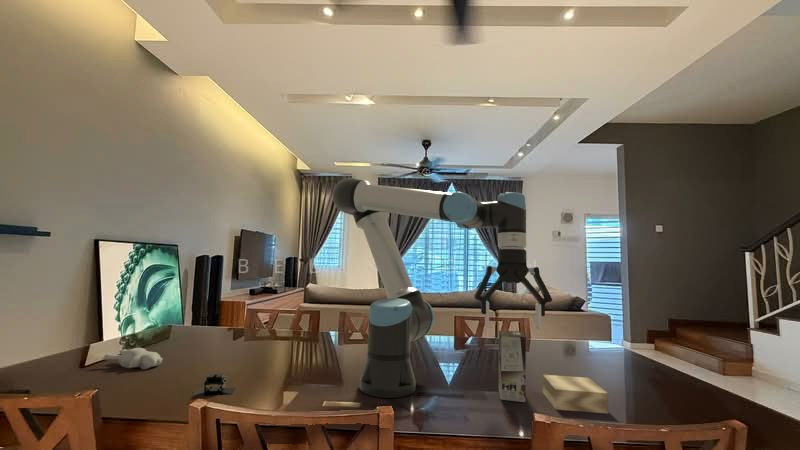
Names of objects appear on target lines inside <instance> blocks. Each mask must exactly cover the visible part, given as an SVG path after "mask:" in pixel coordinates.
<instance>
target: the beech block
mask: <svg viewBox="0 0 800 450" xmlns="http://www.w3.org/2000/svg"><path fill="white" fill-rule="evenodd" d="M542 393H543V395H544V396H545V397H546V398H547V400H548V402H549V403H550V404H551V406H553V409H555V410H561V411H572V412H582V413H584V412H585V413H598V414H609V393H608V392H607V391H606V390H604V388H602V387H601V386H600V385H598V384H597V383H596V382H595V381H593V380H592V379H591V378H589V377H583V376H582V377H581V376H568V375H567V376H566V375H555V374H553V375H552V374H551V375H550V374H542Z"/></svg>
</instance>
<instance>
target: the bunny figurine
mask: <svg viewBox="0 0 800 450" xmlns="http://www.w3.org/2000/svg"><path fill="white" fill-rule="evenodd" d="M163 358H164V357H161V355H160V354H159V352H156V351H150V350H149V351H148V350H147V349H146V348H143V347H133V348H131V349H120V350H119V354H113V353H105V354H104V356H103V358H102V360H118V362H119V364H120V366H121V368H126V369H133V368H139V369H141V370H147V369H150V368H153V367H156V366H158V365H160V364H163Z"/></svg>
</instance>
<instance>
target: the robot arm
mask: <svg viewBox="0 0 800 450" xmlns="http://www.w3.org/2000/svg"><path fill="white" fill-rule="evenodd" d="M332 200H333V203H334V206H335V207H336V208H337V209H338V210H339V211H340V212H343V213H345V214H347V215H350V216H353V219H354V222H355V225H356V227H357V228H358V229H360V230H363V233H364V236H365V238H366V241H367V244H368V247H369V251H370V253H371V255H372V258H373V260H374V262H375V266H376V268H377V271H378V274H379V277H380V280H381V282H382V285H383V287H384V290H385V293H386V297H387V298H386V299H384V298H382V299H378V300H376V301H373V302H372V303H371V304H370V306H369V313H368V316H367V319H368V320H367V321H368V326H367V327H368V331H367V332H368V333H367V355H366V357H367V358H366V361H365V364H364V366H363V370H362V373H361V376H360V378H359V390H360V391H361V392H362V393H363V394H365V395H367V396H371V397H375V398H382V399H383V398H384V399H397V398H403V397H407V396H410V395H412V394H413V393H415V392H416V383H417V381H416V377H415V374H414V370H413V366H412V362H411V342H414V341H416V340H419V339H423V338H424V337H425V336H426V335H428V334H429V333H430V332H431V331H432V329H433V327H434V324H435V319H436V318H435V316H436V315H435V312H434V309H433V307H432V306H431V304H430V303H428V302H427V301H426V300H424V298H423V296H422V293H421V291H420V289H418V288H416V287H414V286H413V283H412V281H411V279H410V278H411V277H410V276H409V273H408V270H407V268H406V265H405V264H404V263H405V262H404V261H403V258H402V255H401V253H400V250H399V248H398V246H397V242H396V240H395V237H394V235H393V231H392V230H391V227H390V225H389V221H388V219H389V218H390V214H397V215H403V216H409V217H410V216H411V217H416V218H424V219H432V220H438V221H445V222H450V223H455V224H456V226H457V227H458V229H467V230H472V229H495V228H496V229H497V247H498V248H499V249H498V250H497V265H496V266H492V265H487V266H486V269H485V274H484V276H483V278H482V280H481V282H480V283H479V286H478V288H477V290H476V292H475V294H474V296H473V297H474V300H477V301H479V302H480V313H481V314H482V315H484V327H486V328H490V302H489V301H488V300H489V299H490V297H491V296H492V295H493V294H494V293H495V292H496V291H497V289H498V288H499V287H500V286H501V285H502V284H503V283H507V284H512V283H514V284H520V283H521V284H522V285H523V286H524V287H525V288H526V290H528V291H529V293H530V294H531V296H533V297H534V299H535V300H536V302H537V303H535V329H537V330H541V331H542V327H543V326H542V317H545V316H546V304H548V303H551V302H553V297H552V296H551V294H550V292H549V290H548V289H547V287H546V284H545V282H544V281H543V278H542V277H541V274H540V269H539V267H538V266H533V267H528V265H527V250H526V249H525V248H527V208H526V205H527V204H526V197H525V195H524V194H523V193H520V192H517V191H515V192H513V191H511V192H509V191H507V192H502V193H500V194H498V195H497V199H496V200H494V201H486V202H485V201H483V202H482V201H478V200H477V199H475V198H474V197H473V196H472V195H470V194H468V193H466V192H462V191H455V192H446V191H445V192H443V191H435V190H434V191H433V190H425V189H416V188H407V187H396V186H389V185H381V184H380V185H379V184H371V182H369V180H365V179H359V178H355V177H347V178H346V177H345V178H342V179H341V180H339V181H338V182H337V183H336V184H335V186H334V188H333V191H332ZM495 272H496V273H497V275H498V278H496V280H495V281H494V282H493V284H492V285H490V287H489V288H488V289H487V290H486V292H485V293H484V294H483V292H484V290H485V288H486V287H487V284H488V282H489V280H490V279H491V276H492V275H494V274H495ZM528 273H530V274H529V275H530V276H532V277H533V279H534V282H535V283H536V285H537V287H538V290H540V293H541V294H542V295H541V294H540V293H539V292H538V291H537V289H536V288H535V287H534V286H533V285H532V284H531V283H530V280H529V279H528V278H527V277H526V276H527V275H528Z"/></svg>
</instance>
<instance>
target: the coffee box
mask: <svg viewBox="0 0 800 450" xmlns="http://www.w3.org/2000/svg"><path fill="white" fill-rule="evenodd" d="M526 339H527V337H526V336H525V334H524V333H523V332H522V331H519V330H517V331H516V330H498V392H499V397H500V400H502V401H511V402H517V403H518V402H520V403H526V385H527V383H526V382H527V381H526V378H527V377H526V367H527V366H526V362H527V361H526V359H527V353H526V352H527V349H526V347H527V345H526V342H527V340H526Z"/></svg>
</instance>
